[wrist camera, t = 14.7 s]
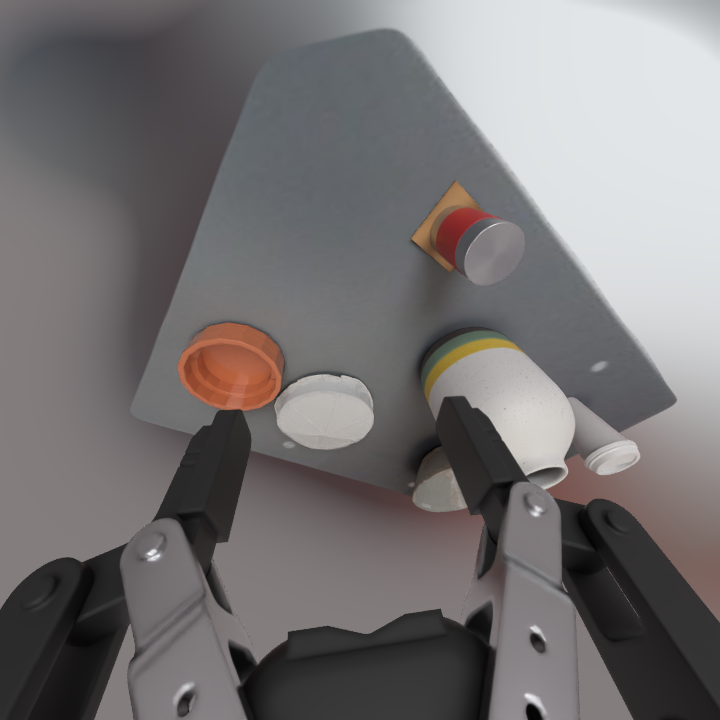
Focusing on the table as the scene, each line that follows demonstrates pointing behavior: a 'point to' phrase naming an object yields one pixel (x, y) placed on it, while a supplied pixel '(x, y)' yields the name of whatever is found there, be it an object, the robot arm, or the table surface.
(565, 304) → the table surface
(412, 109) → the table surface
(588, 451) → the coffee cup
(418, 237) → the coaster
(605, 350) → the table surface
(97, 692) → the robot arm
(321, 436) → the white round slab
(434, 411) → the vase
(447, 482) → the ceramic bowl
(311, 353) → the table surface
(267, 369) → the dish
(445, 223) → the can
